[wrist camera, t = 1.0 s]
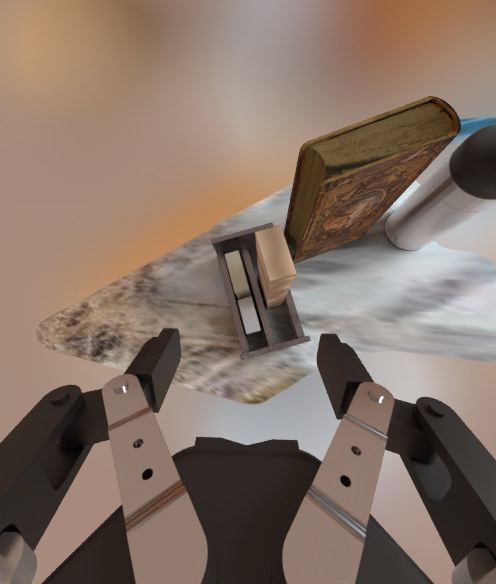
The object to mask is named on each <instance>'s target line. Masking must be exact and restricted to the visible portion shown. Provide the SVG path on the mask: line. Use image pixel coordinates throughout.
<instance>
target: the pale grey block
mask: <svg viewBox="0 0 496 584" xmlns="http://www.w3.org/2000/svg"><path fill="white" fill-rule="evenodd" d="M238 304H239V308H240V311H241V315H242V319H243V323H244V326H245V330H246V334H248V335H251V334H255V333H258V332H261V329H260V325H259V322H258V318H257V315H256V311H255V307H254V304H253V300H252V297H247V298H243V299H240V300H238Z"/></svg>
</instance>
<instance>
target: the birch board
mask: <svg viewBox="0 0 496 584" xmlns="http://www.w3.org/2000/svg"><path fill="white" fill-rule="evenodd" d="M255 236H256V248H257V261H258V273H259V282H260V286H261V289H262V292H263V296H264V299H265V303H266V306H267V309H269V308H273V307H276V306H280V305H282V303H283V301H284V299H285V297H286V295H287V293H288V291H289V289H290V287H291V285H292V282H293V280H294V278H295V276H296V274H297V273H296V270H295V267H294V264H293V261H292V258H291V255H290V252H289V249H288V246H287V243H286V240H285V237H284V234H283V231H282V228H281V225H279V226H275V227H272V228H268V229H264V230H261V231H257V232H255Z"/></svg>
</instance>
